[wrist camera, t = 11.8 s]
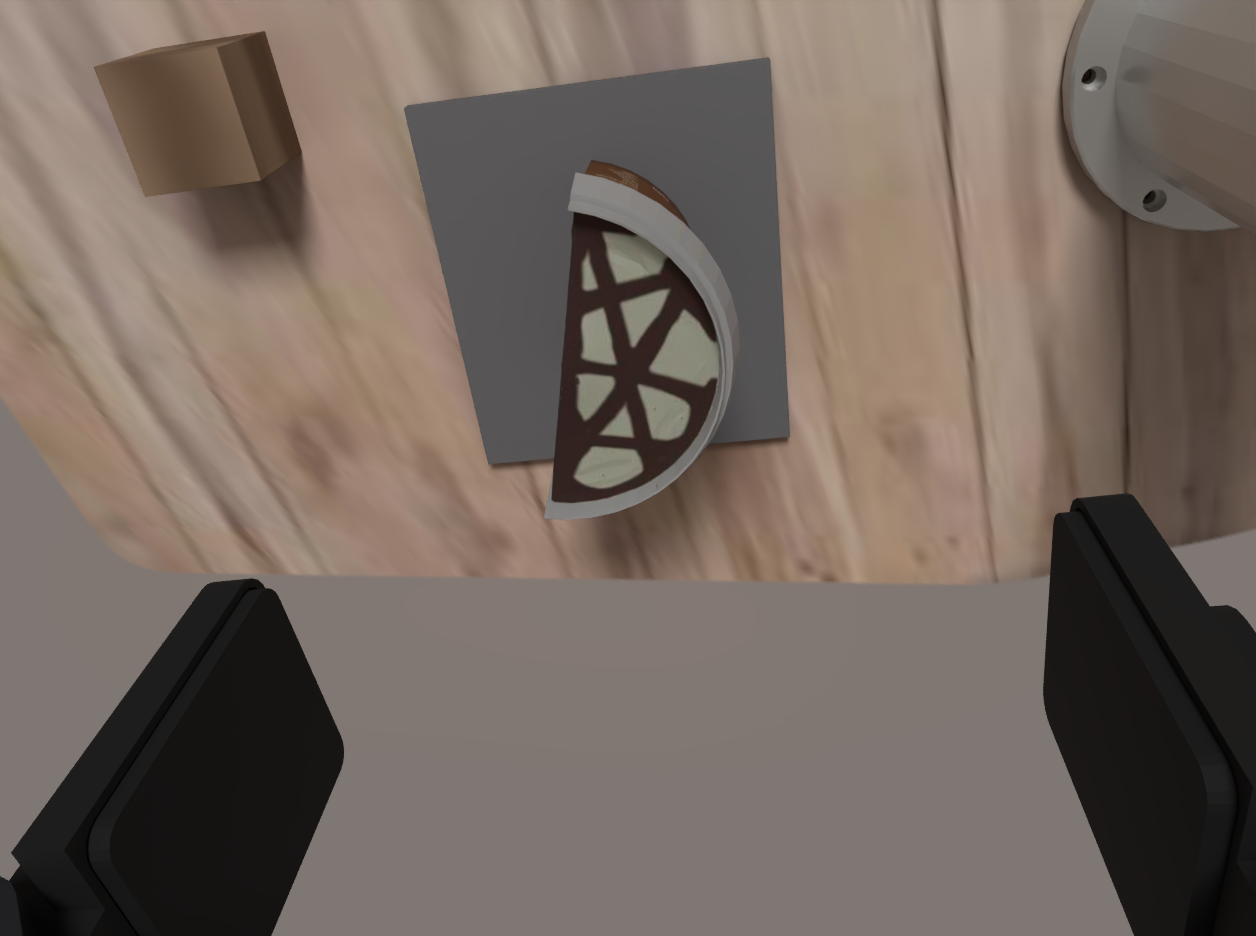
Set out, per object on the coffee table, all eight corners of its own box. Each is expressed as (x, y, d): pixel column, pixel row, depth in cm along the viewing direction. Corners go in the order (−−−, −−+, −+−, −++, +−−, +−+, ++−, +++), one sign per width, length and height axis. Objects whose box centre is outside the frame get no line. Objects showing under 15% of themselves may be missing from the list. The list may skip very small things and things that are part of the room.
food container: (705, 420, 44) (712, 550, 35) (569, 404, 43) (542, 531, 35) (753, 139, 37) (775, 214, 29) (594, 119, 37) (569, 189, 28)
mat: (768, 57, 36) (770, 60, 36) (788, 430, 44) (789, 436, 44) (407, 105, 38) (403, 108, 37) (490, 458, 46) (488, 464, 45)
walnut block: (265, 30, 37) (216, 47, 33) (302, 151, 39) (260, 180, 35) (154, 48, 37) (93, 67, 33) (197, 166, 39) (145, 196, 36)
